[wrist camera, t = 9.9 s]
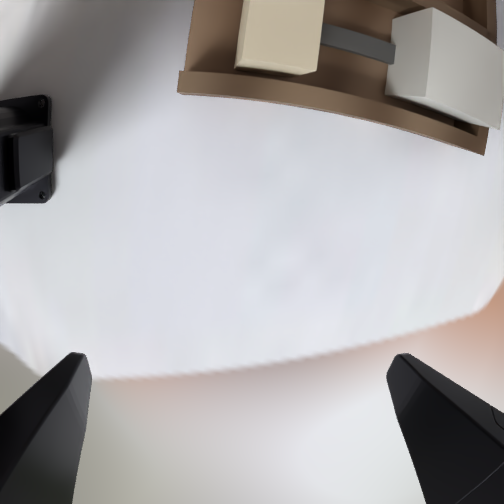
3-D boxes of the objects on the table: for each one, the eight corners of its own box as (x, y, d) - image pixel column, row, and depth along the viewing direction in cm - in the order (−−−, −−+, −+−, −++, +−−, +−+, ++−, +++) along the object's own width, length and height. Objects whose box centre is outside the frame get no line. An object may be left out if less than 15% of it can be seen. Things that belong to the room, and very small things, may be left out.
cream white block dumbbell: (233, 69, 14) (242, 58, 11) (247, -22, 12) (258, -53, 9) (456, 124, 17) (498, 134, 13) (464, 50, 15) (506, 48, 11)
